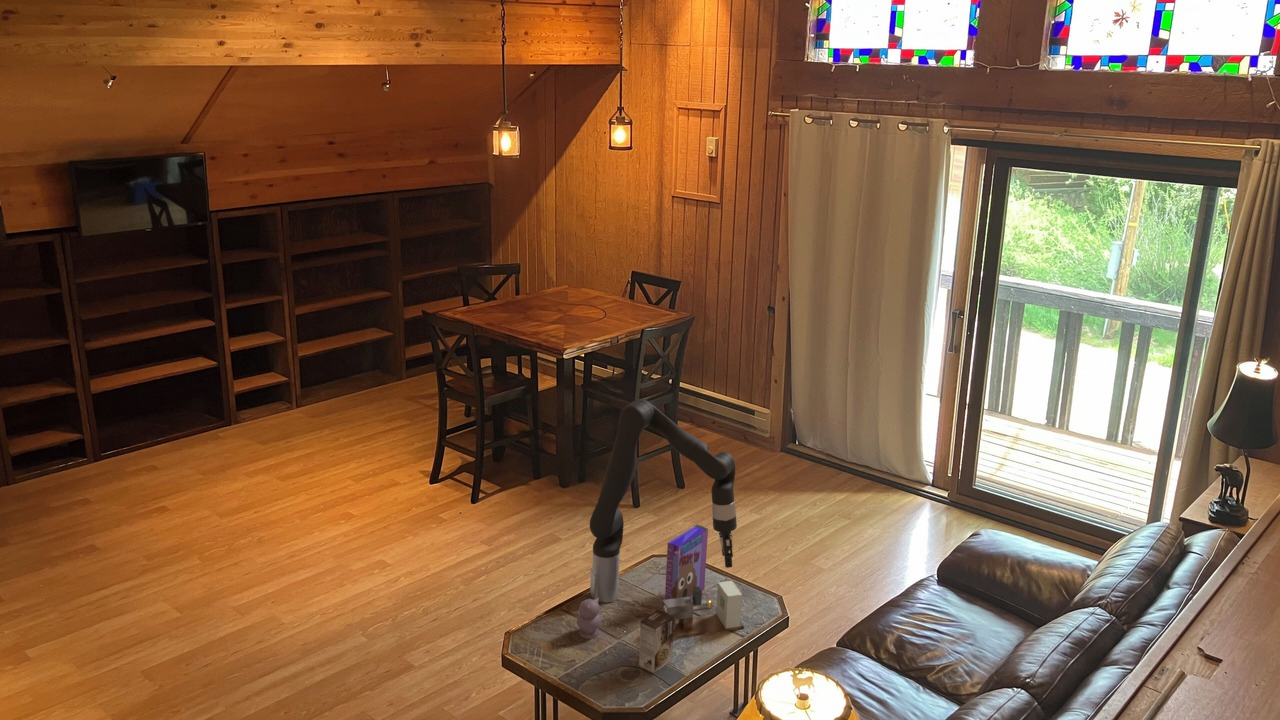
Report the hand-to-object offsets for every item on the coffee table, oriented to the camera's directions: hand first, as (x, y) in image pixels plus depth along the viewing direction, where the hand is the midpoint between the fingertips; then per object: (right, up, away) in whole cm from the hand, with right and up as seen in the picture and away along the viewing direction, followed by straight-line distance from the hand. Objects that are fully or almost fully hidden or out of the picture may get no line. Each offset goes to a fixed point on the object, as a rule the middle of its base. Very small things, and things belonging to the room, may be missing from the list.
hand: (727, 561), depth 321 cm
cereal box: (-12, -18, +28) cm, 35 cm away
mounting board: (-8, -24, +10) cm, 27 cm away
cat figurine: (-45, -24, +4) cm, 51 cm away
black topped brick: (-12, -18, +7) cm, 23 cm away
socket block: (+1, -23, +13) cm, 27 cm away
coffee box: (-23, -30, -10) cm, 39 cm away
